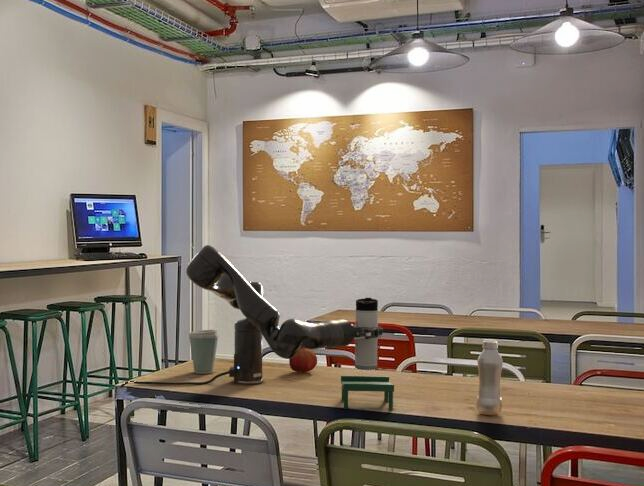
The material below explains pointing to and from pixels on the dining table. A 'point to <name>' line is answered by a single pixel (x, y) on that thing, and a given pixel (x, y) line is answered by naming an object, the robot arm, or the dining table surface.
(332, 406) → the dining table surface
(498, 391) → the plastic bottle
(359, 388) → the stand
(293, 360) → the fruit
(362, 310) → the travel mug
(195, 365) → the disposable coffee cup
